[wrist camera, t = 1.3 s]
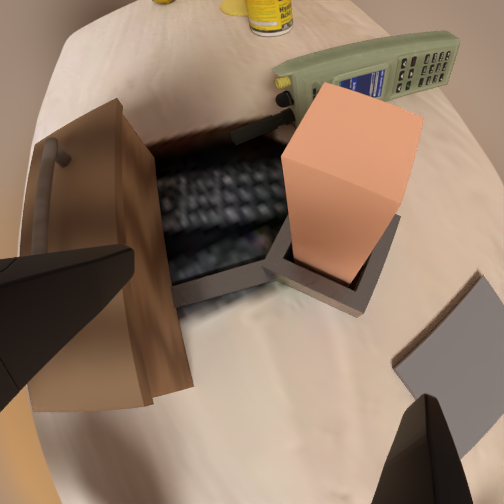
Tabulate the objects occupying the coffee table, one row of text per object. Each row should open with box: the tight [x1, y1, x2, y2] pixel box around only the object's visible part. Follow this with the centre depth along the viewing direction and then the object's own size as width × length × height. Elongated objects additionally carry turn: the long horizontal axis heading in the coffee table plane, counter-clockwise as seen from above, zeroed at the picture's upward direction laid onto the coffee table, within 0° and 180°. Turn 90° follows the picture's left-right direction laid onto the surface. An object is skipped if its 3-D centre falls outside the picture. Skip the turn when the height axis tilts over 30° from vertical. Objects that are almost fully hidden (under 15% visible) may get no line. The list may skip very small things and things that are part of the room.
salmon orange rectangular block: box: [281, 82, 424, 288], centre depth 15 cm, size 4×4×13 cm
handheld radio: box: [231, 31, 460, 145], centre depth 23 cm, size 7×3×25 cm
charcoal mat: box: [392, 275, 504, 459], centre depth 17 cm, size 10×10×1 cm
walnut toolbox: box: [20, 98, 194, 412], centre depth 19 cm, size 21×9×10 cm, turn 15°
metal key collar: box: [170, 214, 401, 318], centre depth 21 cm, size 12×13×2 cm
